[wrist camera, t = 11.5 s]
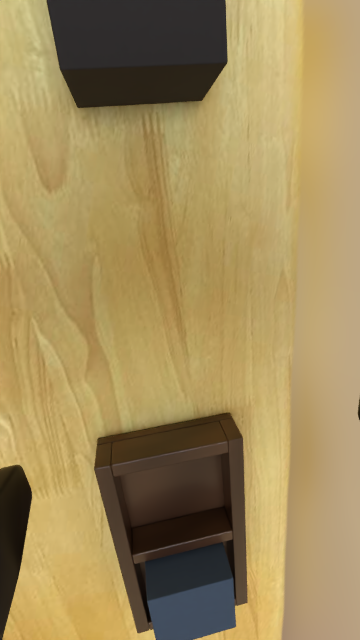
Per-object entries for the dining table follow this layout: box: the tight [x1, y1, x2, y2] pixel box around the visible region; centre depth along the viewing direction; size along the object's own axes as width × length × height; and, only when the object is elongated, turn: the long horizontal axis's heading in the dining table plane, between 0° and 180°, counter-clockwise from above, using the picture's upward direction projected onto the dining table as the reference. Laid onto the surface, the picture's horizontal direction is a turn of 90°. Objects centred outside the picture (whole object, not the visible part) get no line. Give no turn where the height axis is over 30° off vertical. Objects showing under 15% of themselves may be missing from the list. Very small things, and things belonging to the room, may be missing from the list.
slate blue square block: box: [145, 542, 236, 640], centre depth 23 cm, size 6×6×4 cm
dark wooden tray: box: [94, 413, 247, 633], centre depth 23 cm, size 9×18×3 cm, turn 6°
